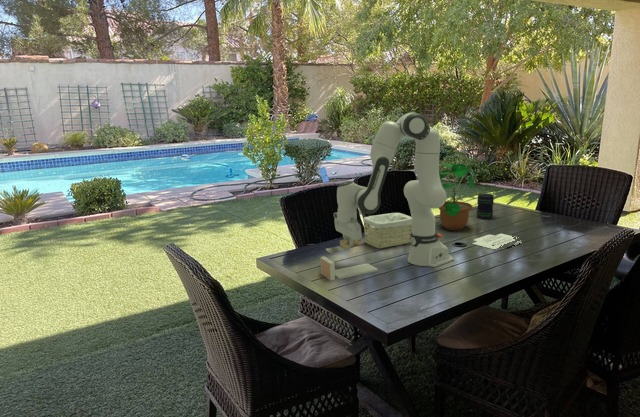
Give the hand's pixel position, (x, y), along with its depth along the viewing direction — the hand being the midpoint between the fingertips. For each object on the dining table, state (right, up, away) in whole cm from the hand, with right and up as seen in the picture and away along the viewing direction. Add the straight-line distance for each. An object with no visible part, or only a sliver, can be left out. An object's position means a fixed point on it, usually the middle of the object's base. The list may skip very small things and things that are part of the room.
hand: (348, 244), depth 224 cm
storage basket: (+24, -2, +34) cm, 41 cm away
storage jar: (+93, +11, +80) cm, 123 cm away
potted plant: (+63, +5, +59) cm, 87 cm away
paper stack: (+83, -2, +31) cm, 89 cm away
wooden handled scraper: (-2, -2, 0) cm, 3 cm away
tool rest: (+2, -12, -7) cm, 15 cm away
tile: (-10, -14, -12) cm, 21 cm away
